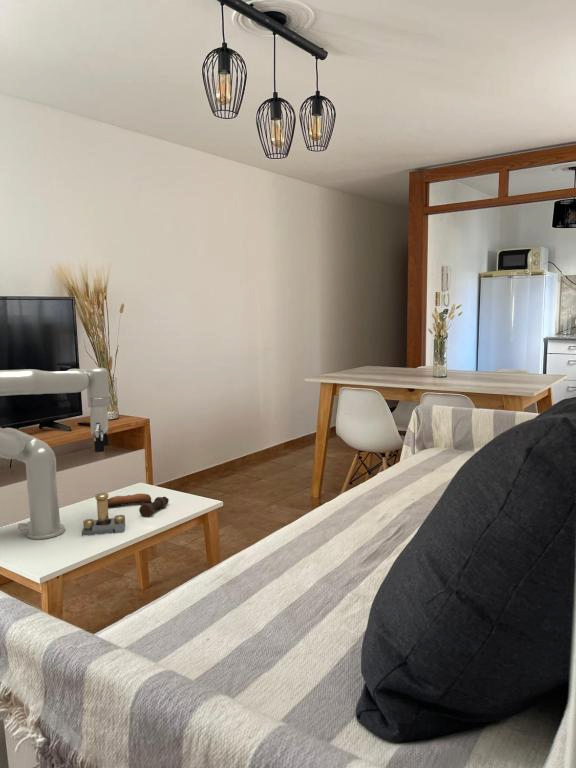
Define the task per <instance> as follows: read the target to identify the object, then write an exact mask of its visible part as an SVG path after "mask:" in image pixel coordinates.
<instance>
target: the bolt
mask: <svg viewBox="0 0 576 768" xmlns="http://www.w3.org/2000/svg"><path fill="white" fill-rule="evenodd" d="M169 500H170V499H169V498H168V497H166V496H163V497H161V496H157V497H155V499H154V501H151V502H152V503H151V502H150V503H141V505H140V507H139V509H138V511H139V513H140V515H141V517H143V518H150V516H151V517H152V516H153V513H154V512H155V511H156V510H162V509H164V508H165V507H166V505H167V504H169Z"/></svg>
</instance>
